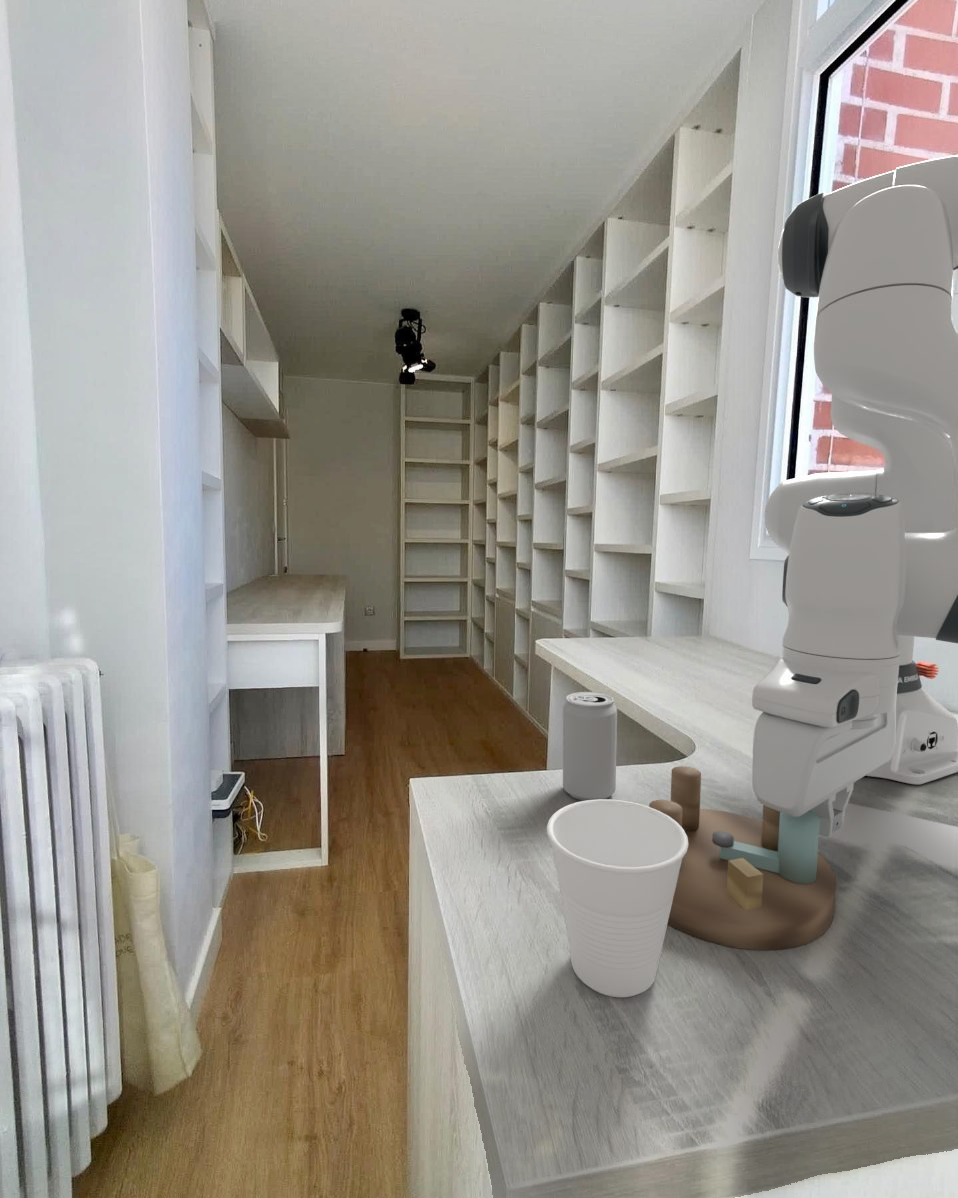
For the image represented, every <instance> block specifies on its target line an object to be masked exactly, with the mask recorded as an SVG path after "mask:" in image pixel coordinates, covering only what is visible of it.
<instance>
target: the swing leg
mask: <svg viewBox="0 0 958 1198" xmlns="http://www.w3.org/2000/svg"><path fill="white" fill-rule="evenodd" d="M819 826H820V817H819V815H818V814H816V813H815V812H813V811H811V810H809V811H808V812H806V813H805V814H803V815H802V816H799V817H794V816H791V815H788V814H785V813H782V812H780V824H779V841H778V852H777V851H773V850H769V849H764V848H760V847H756V846H752V845H748V844H744V843H740V842H736V841H734V837H733V835H731V834H730V833H728V832H724V831H716V832H713V836H712V841H713V843H714V844H715V845H717V846H720V858H722V859H726V860H734V859H740V858H744V859H745V860H746V861H747V862H749V863H750V864H751V865H752V866H754V867H757V868H761V869H765V870H768V871H772V872H776V873H779V874H780V875H781V876H782V877H784V878H785V879H787V880H789V881H792V882H796V883H801V884H809V883H813V882H814V881H815V880H816V871H817V856H818V853H819V840H820V834H819Z"/></svg>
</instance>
